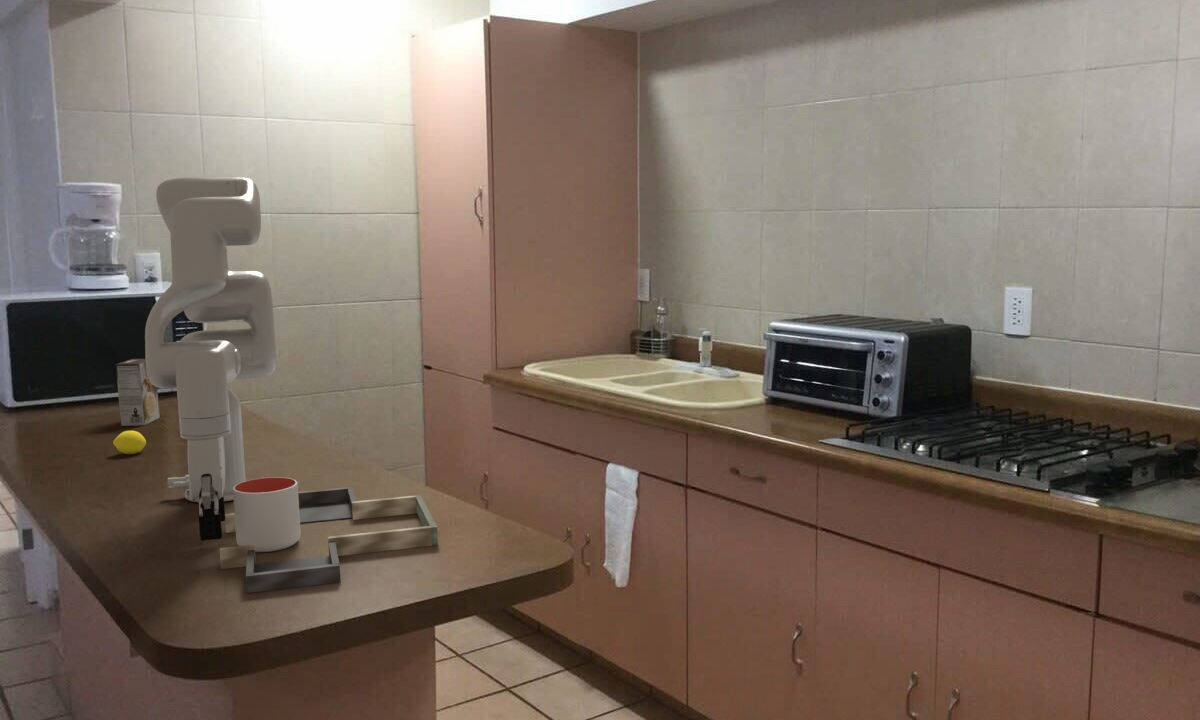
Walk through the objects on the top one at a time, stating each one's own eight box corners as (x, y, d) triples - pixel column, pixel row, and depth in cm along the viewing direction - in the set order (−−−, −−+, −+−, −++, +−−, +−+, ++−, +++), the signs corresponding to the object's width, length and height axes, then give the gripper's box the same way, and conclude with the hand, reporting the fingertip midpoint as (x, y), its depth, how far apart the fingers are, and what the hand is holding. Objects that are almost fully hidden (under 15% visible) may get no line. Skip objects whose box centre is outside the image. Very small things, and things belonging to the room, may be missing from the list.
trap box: (217, 596, 149) (215, 576, 149) (229, 511, 191) (227, 495, 190) (449, 569, 159) (449, 549, 158) (412, 494, 200) (412, 478, 200)
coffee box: (136, 418, 278) (131, 358, 276) (160, 418, 278) (155, 358, 276) (120, 426, 269) (114, 363, 267) (145, 425, 269) (140, 363, 267)
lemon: (143, 452, 242) (145, 428, 242) (147, 456, 238) (149, 432, 237) (110, 452, 238) (112, 428, 238) (113, 456, 234) (115, 432, 233)
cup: (242, 558, 165) (238, 496, 164) (232, 541, 174) (228, 482, 173) (307, 548, 170) (303, 487, 168) (294, 531, 179) (290, 474, 177)
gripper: (184, 417, 174) (192, 517, 176) (174, 438, 157) (183, 549, 160) (232, 413, 176) (240, 513, 178) (227, 434, 159) (235, 544, 162)
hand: (213, 530), depth 169 cm, fingers open, 9 cm apart
